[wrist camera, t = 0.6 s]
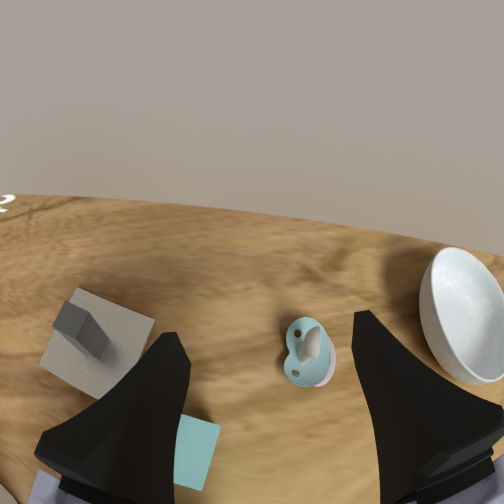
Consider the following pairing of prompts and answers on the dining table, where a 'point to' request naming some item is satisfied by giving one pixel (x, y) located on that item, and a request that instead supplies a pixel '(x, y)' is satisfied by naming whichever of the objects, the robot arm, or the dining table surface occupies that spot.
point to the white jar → (6, 496)
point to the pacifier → (309, 354)
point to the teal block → (194, 451)
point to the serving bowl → (463, 317)
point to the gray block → (95, 343)
